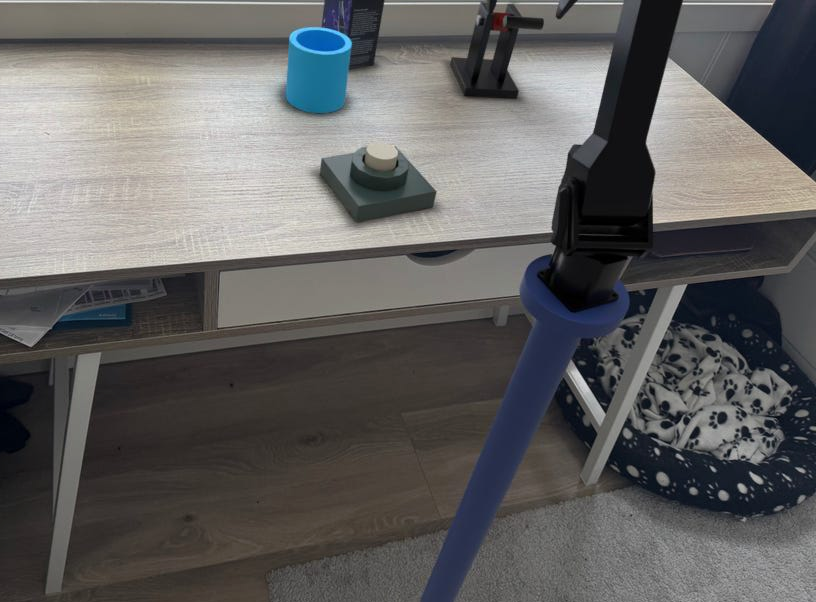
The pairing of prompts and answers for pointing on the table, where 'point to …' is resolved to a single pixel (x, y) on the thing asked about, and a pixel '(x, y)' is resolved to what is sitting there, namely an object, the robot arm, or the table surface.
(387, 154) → the button
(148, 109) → the table surface
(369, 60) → the box
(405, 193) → the button block
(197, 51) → the table surface
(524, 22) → the lever
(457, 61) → the bracket
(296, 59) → the mug
